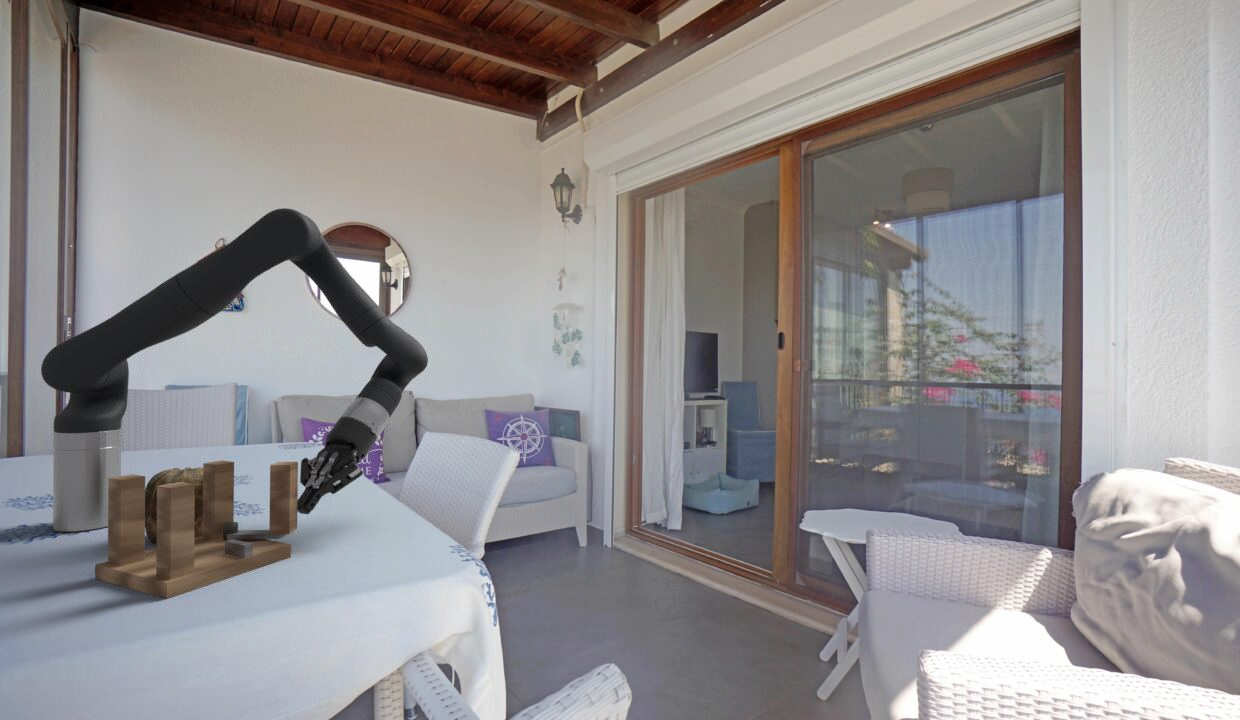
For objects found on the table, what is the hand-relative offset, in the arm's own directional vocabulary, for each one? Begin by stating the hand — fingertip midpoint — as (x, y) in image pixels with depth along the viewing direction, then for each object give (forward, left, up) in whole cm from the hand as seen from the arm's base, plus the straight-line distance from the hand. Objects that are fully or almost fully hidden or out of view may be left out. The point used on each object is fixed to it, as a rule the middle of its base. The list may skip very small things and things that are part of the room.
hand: (300, 511), depth 100 cm
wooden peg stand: (-5, -13, -6) cm, 15 cm away
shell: (-22, -5, -6) cm, 23 cm away
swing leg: (-4, -4, -4) cm, 7 cm away
